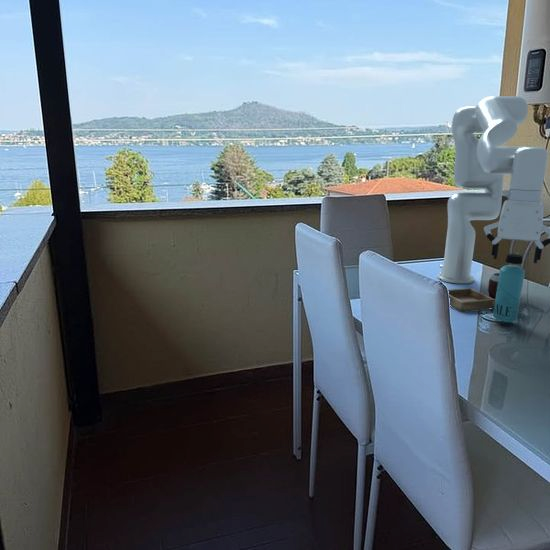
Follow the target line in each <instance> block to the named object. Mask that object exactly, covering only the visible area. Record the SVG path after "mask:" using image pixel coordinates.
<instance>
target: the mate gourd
mask: <svg viewBox="0 0 550 550" xmlns="http://www.w3.org/2000/svg"><path fill="white" fill-rule="evenodd" d="M516 254H519V255H520V253H519V252H517V253H516ZM509 265H513V264H511V263H509ZM499 274H500V272H498V273H497V272H496V273H493V274H492V275H491V276H490V277H489V280H488V287H487V291H488V292H487V293H488V296H489V297H491V298H493V299H495V297H496V291H497V289H496V288H497V286H498V284H497V282H498V279H499V277H498V276H499Z"/></svg>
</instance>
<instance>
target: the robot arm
mask: <svg viewBox="0 0 550 550" xmlns="http://www.w3.org/2000/svg"><path fill="white" fill-rule="evenodd" d="M528 113H529V105H528V103H527V101H526V99H524V98H523V97H521V96H518V95H517V96H515V95H514V96H513V95H512V96H510V95H509V96H508V95H506V96H504V95H503V96H502V95H499V96H497V95H496V96H495V95H494V96H488V97H485V98H483V99H482V100H480V101H479V102H478V103H477V105H471V106H470V105H469V106H464V107H460V108H459V109H457V110H456V111H455V113H454V114H453V117H452V121H451V122H452V123H451V133H452V137H453V142H454V148H455V150H454V151H455V153H454V169H453V182H454V186H456V187H457V188H459V189H471V190H473V189H474V190H475V189H477V190H478V189H479V190H480V189H481V190H482V189H483V190H484V192H458V193H457V192H456V193H454V194H452V195H451V196H449V198H448V200H447V206H446V207H447V209H446V210H447V231H446V240H445V250H444V256H443V257H444V259H443V263H442V264H439V268H441V272H438V274H437V278H438V279H439V280H440V279H441V281H443V282H446V283H450V284H462V285H465V284H472V283H474V282H475V277H474V276H473V275H472V274H471V272H472V263H473V257H474V249H475V242H476V229H475V227H474V226H472V223H471V221H492V220H495V219H497V218H498V217H499V221H496V222H494V223H491V224H488V225H486V226H484V227H483V232H484V233H485V235H486V238H487V239H488V240H489V241H490V243H491V244H492V250H491V256H493V260H497V259H498V253H499V246H500V244H499V242H500V241H501V240H502V239H503V240H509V241H522V242H534V243H535V245H536V247H535V250H534V256H533V264H537V263H538V261H541V256H542V251H543V249H544V248H545V247H546V246H548V245H549V244H550V227H548V226H546V225H545V224H544V223H543V222H544V202H542V201H541V199H542V192H543V186H544V179H545V173H546V168H547V167H546V166H547V160H548V154H549V153H548V149H546V148H545V147H539V146H538V147H535V146H527V145H525V146H523V145H521V146H520V145H519V146H517V145H514V146H513V145H505V144H506V143H508V142H509V141H511V140H512V139H513V138H514V136H515V135H516V133H517V130H518V129H517V128H518V126H521V125H522V124H523V123H524V122H525V120H526V119H527V117H528ZM475 134H481V136H480V137H479V139H478V137H477V136H476V135H475ZM504 175H507V176H508V175H511V176H510V182H509V189H507V190H504V189H503V188H504V187H503V186H504ZM502 197H506V198H507V199H506V200H504V201H503V205H502V200H503V198H502ZM499 215H500V216H499ZM496 228H497V236H494V235H493V234H492V232H491V230H493V229H496ZM542 232H545V233H546V234H547V235H548V237H546V238H545V239H544V240H541V237H542V236H541V235H542Z"/></svg>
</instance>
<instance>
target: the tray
mask: <svg viewBox="0 0 550 550" xmlns="http://www.w3.org/2000/svg"><path fill="white" fill-rule="evenodd" d="M447 290H448V291H449V298H450V305H451V306H452V307H451V306H450V307H451V308H453V309H454V308H455V309H454V310H456V311H458V312H459V313H465V312H466V311H467V312H476V311H477V310H478V311H485V310H484V309H488V310H490V309H489V308H494V305H495V304H494V301H495V299H493V298H491V297H489V295H486V294H485V293H482V292H481V291H478V290H476V289H475V288H472V287H469V288H468V287H467V288H456V289H447Z"/></svg>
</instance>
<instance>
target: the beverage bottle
mask: <svg viewBox="0 0 550 550" xmlns="http://www.w3.org/2000/svg"><path fill="white" fill-rule="evenodd" d="M504 261H505V262H506V263H507V264H506V265H503V266H501V268H500V269H499V273H500V274H499V276H498V277H499V279H498V282H497V284H498V286H497V288H496V289H497V291H496V297H495V301H494V304H495V305H494V308H493V309H492V310H493V312H492V315H493V316H492V317H493V319H495V320H498V321H501V322H505V323H514V322H516V321H517V320H518V316H519V310H520V305H521V297H522V296H521V295H522V290H523V285H524V278H525V274H526V271H525V270H524V268H523V267H521V266H519V265H522V264H523V255H522V254H520V253H519V254H517V253H507V254H506V257H505V260H504ZM510 263H511V264H512V265H510Z"/></svg>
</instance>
